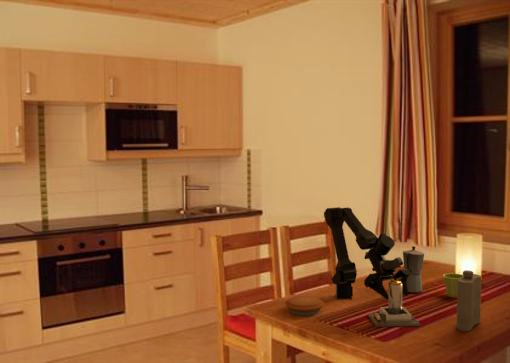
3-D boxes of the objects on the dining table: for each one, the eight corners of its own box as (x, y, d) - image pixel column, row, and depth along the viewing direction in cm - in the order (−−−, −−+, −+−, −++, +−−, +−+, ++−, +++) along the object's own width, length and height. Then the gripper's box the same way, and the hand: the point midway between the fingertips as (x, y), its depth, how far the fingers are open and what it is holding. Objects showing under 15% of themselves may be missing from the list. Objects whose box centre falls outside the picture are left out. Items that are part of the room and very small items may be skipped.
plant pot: (441, 297, 233) (442, 277, 232) (443, 291, 242) (443, 272, 241) (465, 299, 229) (465, 279, 229) (465, 293, 238) (466, 274, 237)
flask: (465, 318, 206) (467, 266, 205) (481, 321, 203) (483, 268, 201) (452, 329, 195) (453, 274, 193) (469, 332, 191) (470, 276, 189)
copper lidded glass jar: (387, 318, 203) (387, 282, 202) (389, 314, 208) (389, 279, 207) (401, 320, 202) (401, 283, 200) (402, 316, 206) (403, 280, 205)
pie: (302, 303, 227) (302, 291, 227) (331, 311, 216) (331, 299, 215) (276, 311, 216) (276, 299, 216) (306, 321, 205) (306, 308, 205)
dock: (376, 326, 198) (376, 317, 197) (368, 316, 210) (368, 307, 209) (419, 326, 198) (419, 316, 198) (409, 315, 210) (409, 306, 210)
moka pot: (426, 287, 248) (427, 244, 246) (419, 296, 234) (420, 251, 232) (405, 285, 252) (405, 242, 250) (397, 294, 238) (397, 249, 237)
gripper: (369, 253, 202) (388, 289, 193) (407, 248, 210) (428, 282, 202) (356, 269, 210) (374, 305, 201) (393, 264, 218) (412, 298, 209)
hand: (397, 297), depth 203 cm, fingers open, 9 cm apart
